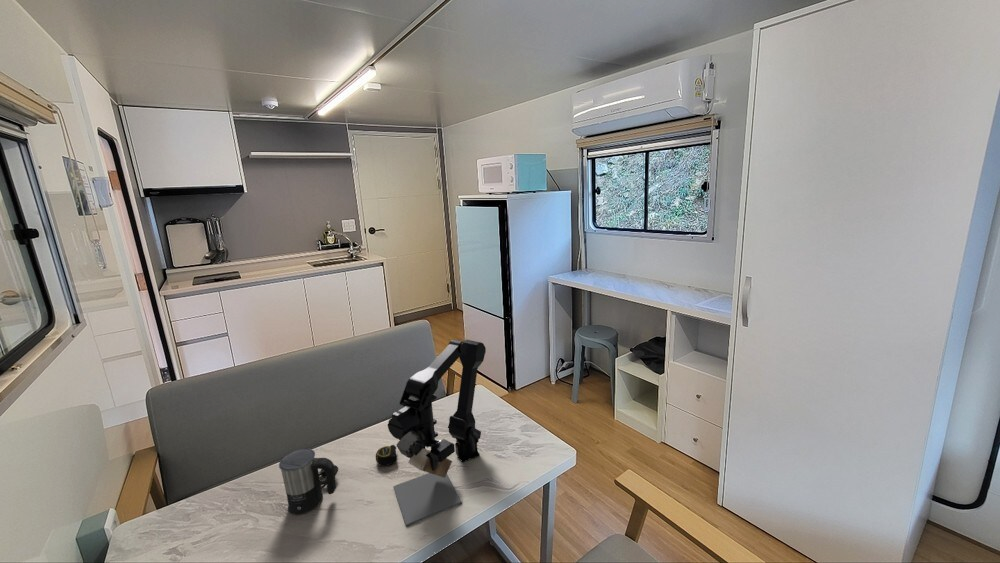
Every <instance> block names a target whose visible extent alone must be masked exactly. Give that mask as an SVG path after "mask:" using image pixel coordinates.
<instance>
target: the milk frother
mask: <svg viewBox="0 0 1000 563" xmlns="http://www.w3.org/2000/svg"><path fill="white" fill-rule="evenodd" d="M315 452H316V451H314V450H313V449H311V448H302V449H297V450H295V451H292V452H290V453H289V454H286V456H284V457H283V458H282V459H280V461H279V462H278V468H279V469H280V471H281V477H282V479H283V485H284V489H285V494H286V498H287V505H288V506H287V510H288V512H289V513H290V514H292V515H295V516H296V515H298V516H299V515H303V514H306V513H309V512H311V511H313V510H314V509H315V508H317V507H318V506H319V505H320V504H321V503H322V501H323V499H324V494H323V489H324V488H325V487H326V489H327V490H326V491H327V494H328V495H333V494H334V493H335V491H336V489H337V483H336V476H337V474H338V472H339V467H338V466H337V465H335V464H334V462H333V461H332V460H331V459H329V458H326V457H315V456H316V453H315ZM320 477H322V478H323V479H324V480H321V478H320Z"/></svg>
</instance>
